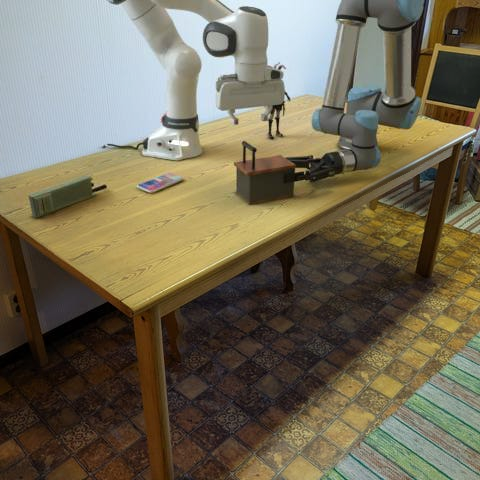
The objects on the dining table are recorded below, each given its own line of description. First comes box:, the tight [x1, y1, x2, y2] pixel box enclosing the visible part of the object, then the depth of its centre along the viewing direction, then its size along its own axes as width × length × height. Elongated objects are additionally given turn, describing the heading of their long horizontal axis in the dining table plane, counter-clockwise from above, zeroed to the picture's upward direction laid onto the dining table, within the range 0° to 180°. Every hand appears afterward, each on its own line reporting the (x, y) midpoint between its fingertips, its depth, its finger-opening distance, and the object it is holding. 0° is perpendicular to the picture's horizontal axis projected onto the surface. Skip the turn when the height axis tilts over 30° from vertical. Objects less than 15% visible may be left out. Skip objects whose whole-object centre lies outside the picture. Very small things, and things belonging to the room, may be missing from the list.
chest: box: [235, 167, 296, 205], centre depth 156 cm, size 15×9×10 cm, turn 115°
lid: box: [233, 140, 296, 176], centre depth 152 cm, size 16×9×8 cm, turn 115°
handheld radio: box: [28, 173, 108, 219], centre depth 150 cm, size 7×3×25 cm
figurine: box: [263, 61, 291, 140], centre depth 201 cm, size 15×6×30 cm, turn 132°
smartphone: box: [136, 172, 184, 194], centre depth 164 cm, size 7×1×15 cm
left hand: (249, 122), depth 145 cm, fingers open, 8 cm apart
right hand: (277, 173), depth 157 cm, fingers closed on chest, 9 cm apart
